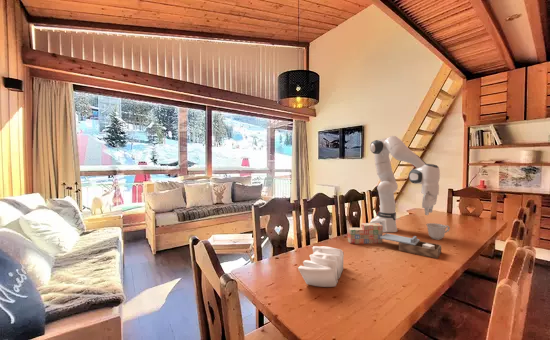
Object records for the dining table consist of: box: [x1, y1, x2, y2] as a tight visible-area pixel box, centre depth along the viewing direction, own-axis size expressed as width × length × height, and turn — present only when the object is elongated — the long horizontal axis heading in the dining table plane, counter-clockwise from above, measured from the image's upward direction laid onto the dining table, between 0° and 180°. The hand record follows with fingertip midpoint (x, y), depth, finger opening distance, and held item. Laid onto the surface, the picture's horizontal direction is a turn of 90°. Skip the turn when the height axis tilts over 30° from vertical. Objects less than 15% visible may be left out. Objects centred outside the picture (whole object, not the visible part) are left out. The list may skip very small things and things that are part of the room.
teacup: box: [426, 222, 450, 241], centre depth 173 cm, size 12×15×10 cm
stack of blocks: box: [347, 222, 384, 244], centre depth 169 cm, size 21×6×12 cm, turn 90°
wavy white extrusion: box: [297, 245, 344, 288], centre depth 122 cm, size 35×16×11 cm, turn 152°
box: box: [398, 240, 442, 260], centre depth 150 cm, size 20×12×5 cm, turn 48°
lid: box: [380, 233, 421, 245], centre depth 157 cm, size 20×11×3 cm, turn 48°
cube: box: [422, 242, 435, 250], centre depth 147 cm, size 4×4×4 cm
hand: (428, 213), depth 152 cm, fingers open, 8 cm apart
